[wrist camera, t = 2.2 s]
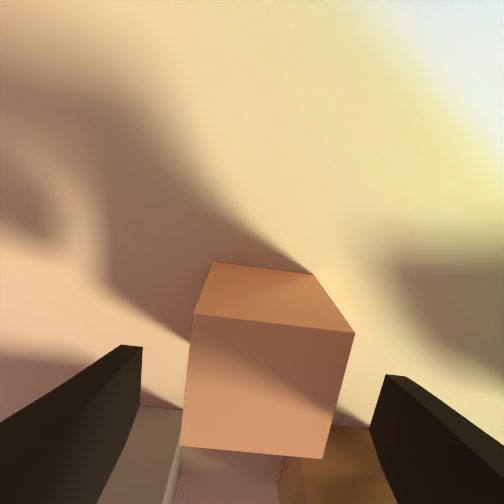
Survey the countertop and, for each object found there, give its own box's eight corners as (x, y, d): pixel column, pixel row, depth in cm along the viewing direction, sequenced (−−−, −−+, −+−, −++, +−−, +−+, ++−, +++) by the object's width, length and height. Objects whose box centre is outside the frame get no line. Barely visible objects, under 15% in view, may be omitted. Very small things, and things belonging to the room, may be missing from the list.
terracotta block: (313, 274, 13) (355, 332, 8) (295, 361, 14) (322, 459, 9) (213, 261, 12) (192, 313, 8) (202, 350, 14) (179, 445, 9)
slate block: (186, 409, 14) (156, 526, 10) (178, 477, 16) (148, 612, 11) (95, 400, 14) (18, 515, 9) (94, 469, 15) (25, 605, 10)
